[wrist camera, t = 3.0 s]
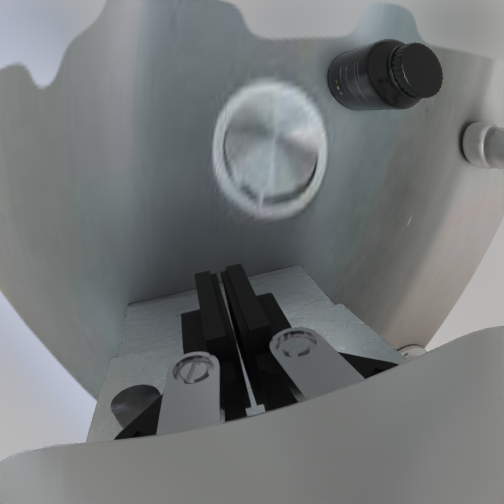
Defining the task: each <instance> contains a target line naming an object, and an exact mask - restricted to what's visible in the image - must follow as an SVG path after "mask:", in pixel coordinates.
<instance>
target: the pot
mask: <svg viewBox="0 0 504 504" xmlns="http://www.w3.org/2000/svg"><path fill="white" fill-rule="evenodd" d="M247 278H248V280H249V282H250V284H251V286H252V288H253V290H254V292H255V294H256V296H258V295H262V294H266V293H270V292H271V293H272V294H273V296H274V297H275V299H276V301H277V303H278V304H279V306H280V308H281V309H282V311H283V313H284V315H285V316H286V318H287V319H290V318H293V317H297V316H300V315H304V314H307V313H311V312H314V311H318V310H321V309H325V308H328V307H331V306H335V305H334V304H333V303H332V302H331V300H330V299H329V298H328V297H327V296H326V295H325V294H324V292H323V291H322V290H321V289H320V288H319V287H318V286H317V284H316V283H315V282H314V281H313V280H312V279H311V278H310V276H309V275H308V274H307V273H306V272H305V271H304V270H303V269H302V267H301V266H300V265H295V266H291V267H287V268H283V269H279V270H275V271H271V272H267V273H263V274H258V275H254V276H250V277H247ZM219 285H220V288H221V292H222V295H223V298H224V302H225V305H226V308H227V312H228V315H229V318H230V322H231V317H230V313H229V308H228V304H227V299H226V295H225V290H224V286H223V283H221V284H219ZM199 309H200V307H199V301H198V294H197V289H195V290H190V291H186V292H181V293H177V294H173V295H168V296H164V297H159V298H155V299H150V300H146V301H141V302H136V303H132V304H128V307H127V311H126V316H125V321H124V326H123V331H122V336H121V341H120V346H119V351H118V357H123V356H129V355H134V354H140V353H145V352H150V351H155V350H160V349H165V348H170V347H175V346H179V345H183V341H182V326H181V313H185V312H190V311H194V310H199ZM231 325H232V322H231ZM232 328H233V326H232ZM233 332H234V331H233ZM118 357H117V358H118Z"/></svg>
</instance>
